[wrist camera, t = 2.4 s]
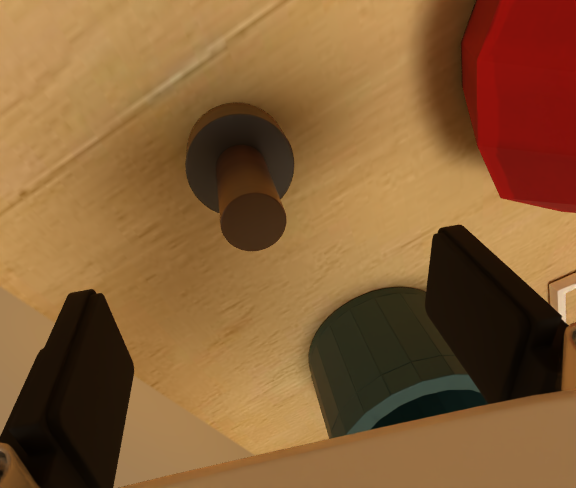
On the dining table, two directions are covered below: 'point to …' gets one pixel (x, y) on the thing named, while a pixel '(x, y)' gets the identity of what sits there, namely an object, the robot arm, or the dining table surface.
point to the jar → (385, 365)
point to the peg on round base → (241, 172)
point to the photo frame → (561, 293)
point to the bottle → (524, 97)
